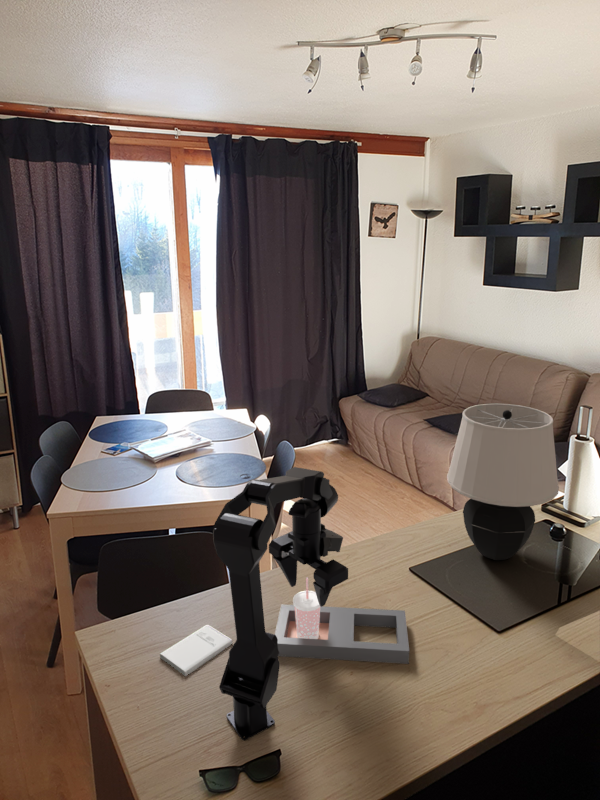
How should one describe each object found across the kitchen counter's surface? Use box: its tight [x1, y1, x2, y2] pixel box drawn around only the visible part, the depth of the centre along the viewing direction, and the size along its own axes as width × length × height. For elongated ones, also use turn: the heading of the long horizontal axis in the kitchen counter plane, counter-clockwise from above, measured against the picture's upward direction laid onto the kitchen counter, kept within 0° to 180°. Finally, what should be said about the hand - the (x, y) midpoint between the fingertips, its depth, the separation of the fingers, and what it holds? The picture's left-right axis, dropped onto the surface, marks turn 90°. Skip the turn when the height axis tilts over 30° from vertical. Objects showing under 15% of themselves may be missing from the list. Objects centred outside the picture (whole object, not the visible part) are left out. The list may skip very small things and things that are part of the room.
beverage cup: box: [292, 576, 320, 639], centre depth 123 cm, size 6×6×14 cm
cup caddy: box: [274, 603, 410, 665], centre depth 124 cm, size 27×13×3 cm, turn 84°
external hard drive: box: [159, 624, 233, 677], centre depth 122 cm, size 2×8×12 cm
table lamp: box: [446, 403, 560, 561], centre depth 150 cm, size 27×27×40 cm
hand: (307, 595), depth 123 cm, fingers open, 9 cm apart
